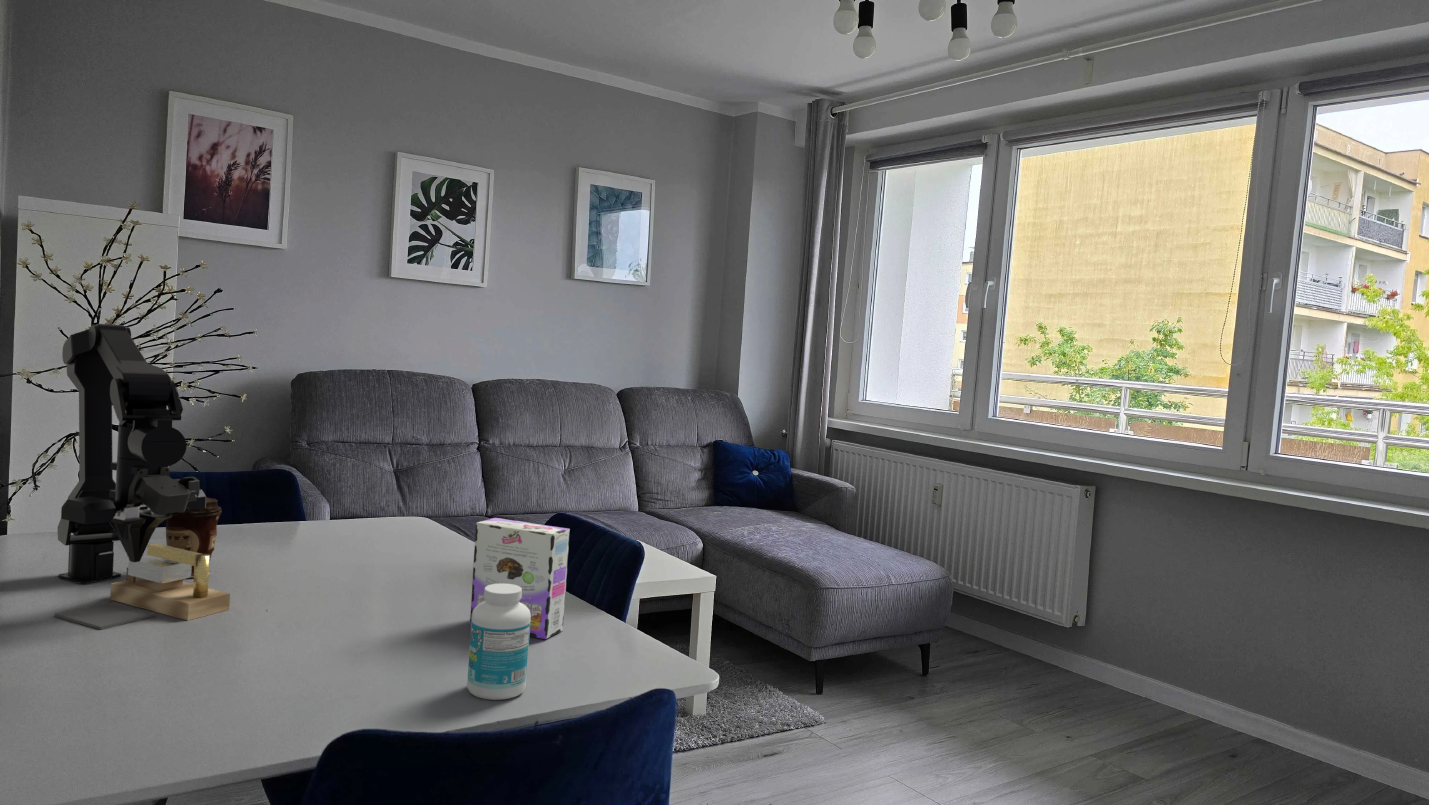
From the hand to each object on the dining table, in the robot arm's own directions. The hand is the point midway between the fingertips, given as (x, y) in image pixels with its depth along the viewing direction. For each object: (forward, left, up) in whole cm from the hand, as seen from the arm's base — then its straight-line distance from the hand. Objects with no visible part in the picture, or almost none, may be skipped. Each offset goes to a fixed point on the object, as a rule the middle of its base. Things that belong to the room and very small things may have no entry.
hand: (135, 561), depth 139 cm
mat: (-1, -4, -8) cm, 8 cm away
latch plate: (+1, +5, -8) cm, 9 cm away
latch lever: (+2, +5, -5) cm, 8 cm away
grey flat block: (-2, +5, -4) cm, 7 cm away
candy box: (+48, +28, -8) cm, 56 cm away
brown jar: (-12, +19, -8) cm, 23 cm away
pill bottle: (+61, +5, -8) cm, 62 cm away
